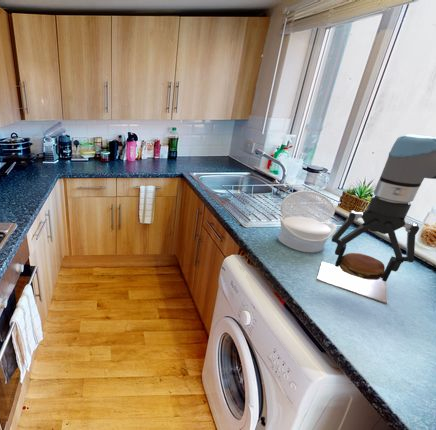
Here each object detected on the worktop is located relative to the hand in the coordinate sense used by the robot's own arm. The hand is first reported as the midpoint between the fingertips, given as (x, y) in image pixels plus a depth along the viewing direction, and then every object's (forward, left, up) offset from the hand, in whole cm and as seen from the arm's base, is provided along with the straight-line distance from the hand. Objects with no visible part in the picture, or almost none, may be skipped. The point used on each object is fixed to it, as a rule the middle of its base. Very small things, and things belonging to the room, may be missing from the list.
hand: (359, 271), depth 81 cm
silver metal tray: (-1, -15, -11) cm, 19 cm away
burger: (0, 0, 0) cm, 0 cm away
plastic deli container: (+17, -34, -12) cm, 40 cm away
